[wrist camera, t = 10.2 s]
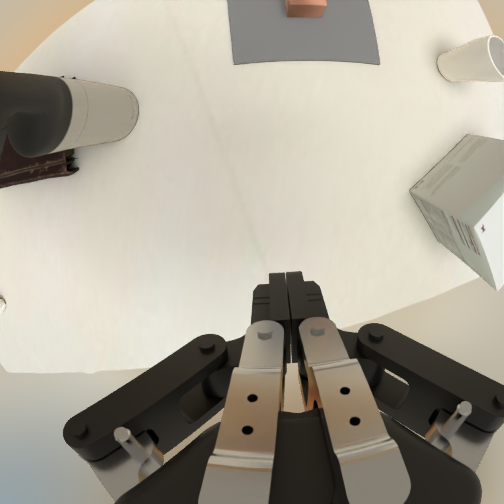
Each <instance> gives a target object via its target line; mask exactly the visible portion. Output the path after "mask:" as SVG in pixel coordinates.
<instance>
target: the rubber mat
mask: <svg viewBox="0 0 504 504" xmlns="http://www.w3.org/2000/svg"><path fill="white" fill-rule="evenodd" d="M227 1H228V11H229V21H230V31H231V41H232V51H233V61H234V65H237V64H247V63H258V62H273V61H341V62H356V63H367V64H376V65H380V59H379V52H378V46H377V40H376V34H375V29H374V24H373V19H372V14H371V10H370V6H369V1H368V0H326V3H327V7H326V9H325V11H324V13H323V15H322V16H321V18H307V17H287V11H286V5H285V0H227Z"/></svg>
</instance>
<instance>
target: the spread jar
mask: <svg viewBox="0 0 504 504" xmlns="http://www.w3.org/2000/svg"><path fill="white" fill-rule="evenodd" d="M5 308H6V304H5V302H4V300H2V299H0V314H1V313H2V312H3V311H4V310H5Z"/></svg>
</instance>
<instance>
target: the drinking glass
mask: <svg viewBox="0 0 504 504" xmlns="http://www.w3.org/2000/svg"><path fill="white" fill-rule="evenodd" d="M437 65H438V69H439V71H440V73H441V74H442V75H443V77H444V78H446V79H447V80H449V81H452V82H457V81H480V82H504V41H503V40H502V39H501V38H500V37H497V36H495V35H491V36H486V37H481V38H478V39H475V40H472V41H470V42H468V43H465V44H463V45H461V46H459V47H457V48H455V49H453V50H450V51H448V52H446V53H443V54H441V55H440V56H439V57H438V60H437Z"/></svg>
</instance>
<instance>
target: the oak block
mask: <svg viewBox="0 0 504 504" xmlns="http://www.w3.org/2000/svg"><path fill="white" fill-rule="evenodd" d="M285 5H286V11H287V17H307V18H321V16H322V15H323V13H324V11H325V9H326V7H327V3H326V0H285Z"/></svg>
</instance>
